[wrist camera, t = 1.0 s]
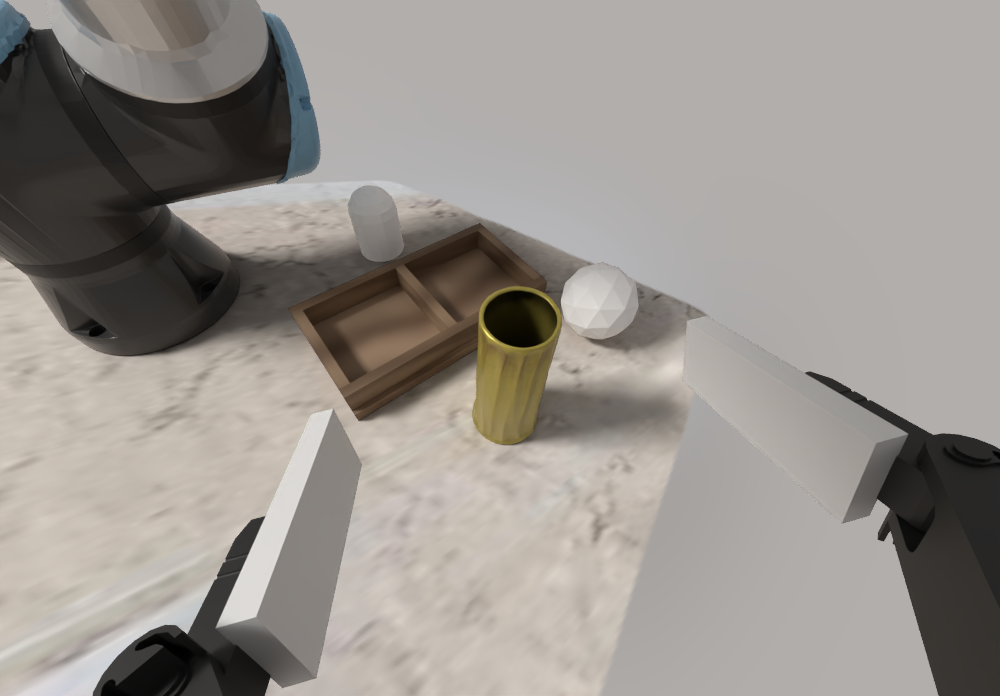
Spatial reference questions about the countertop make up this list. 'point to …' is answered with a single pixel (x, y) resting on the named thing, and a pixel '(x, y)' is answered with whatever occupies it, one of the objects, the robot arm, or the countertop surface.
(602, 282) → the ball
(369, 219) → the white dome-topped block
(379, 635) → the countertop surface
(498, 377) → the vase
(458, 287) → the tray
